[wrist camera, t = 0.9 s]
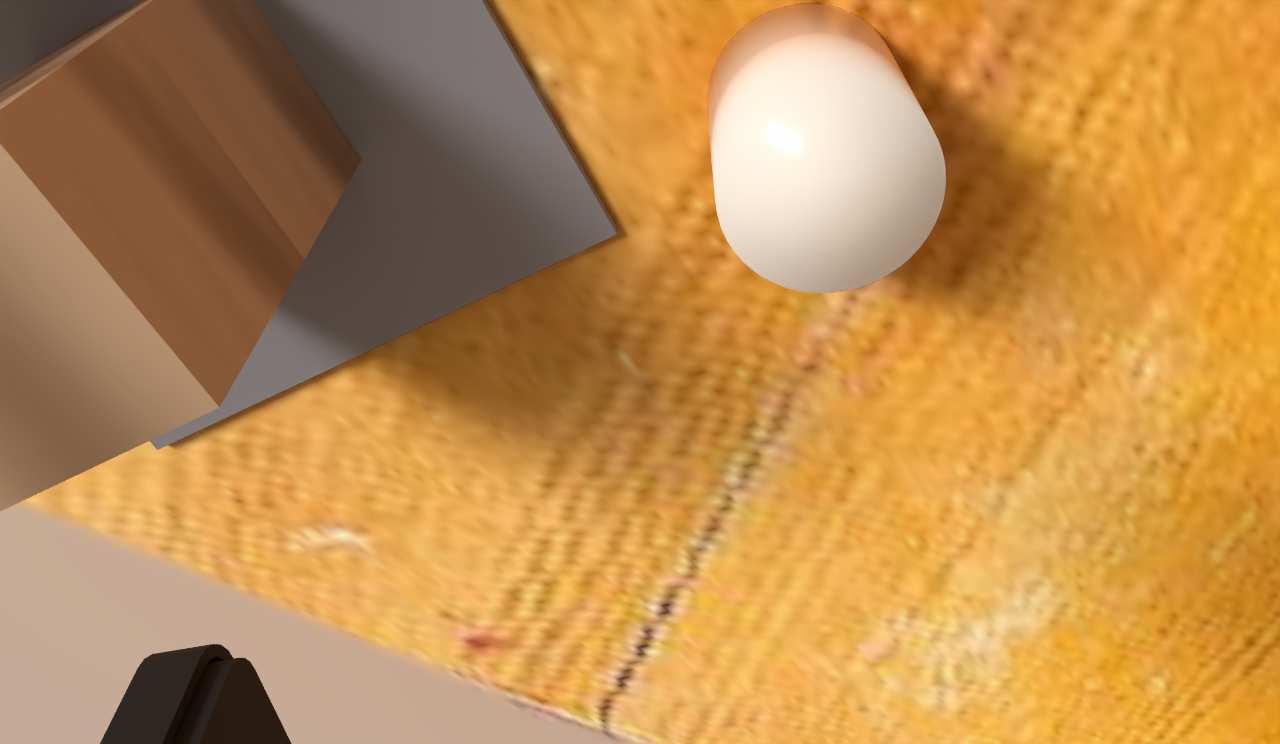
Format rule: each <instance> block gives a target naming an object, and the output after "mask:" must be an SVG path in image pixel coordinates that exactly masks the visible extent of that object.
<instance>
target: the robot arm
mask: <svg viewBox="0 0 1280 744" xmlns="http://www.w3.org/2000/svg"><path fill="white" fill-rule="evenodd" d="M100 744H291V742H290V740H289V738H288V736H287V734H286V732H285V730H284V728H283V726H282V724H281V721H280V719H279V717H278V715H277V714H276V711H275V709H274V707H273V705H272V703H271V701H270V699H269V697H268V695H267V693H266V691H265V689H264V687H263V685H262V683H261V681H260V679H259V677H258V674H257V672H256V670H255V669H254V667H253V666H252V664H251V662H250V661H248V660H247V659H245V658H235V659H234V658H233V657H232V655H231V654H230V652H229V651H228V650H227V649H226V648H224V647H223V646H222V645H218V644H212V645H205V646H199V647H193V648H187V649H181V650H175V651H169V652H163V653H156V654H152V655H150V656H149V657H147V658H145V659H144V661H143V662H142V663H141V664H140V666H139V667H138V669H137V671H136V673H135V675H134V677H133V679H132V681H131V683H130V685H129V687H128V689H127V691H126V693H125V695H124V697H123V699H122V701H121V703H120V705H119V707H118V709H117V711H116V713H115V715H114V717H113V719H112V721H111V723H110V725H109V727H108V729H107V731H106V733H105V735H104V737H103V739H102V741H101V743H100Z"/></svg>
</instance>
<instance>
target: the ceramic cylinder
mask: <svg viewBox="0 0 1280 744" xmlns="http://www.w3.org/2000/svg"><path fill="white" fill-rule="evenodd" d="M707 115H708V126H709V137H710V148H711V159H712V169H713V180H714V191H715V202H716V209H717V215H718V219H719V222H720V226H721V228H722V231H723V233H724V235H725V238H726V240H727V241H728V243H729V244H730V246H731V248H732V249H733V251H734V252H735V253H736V254H737V255H738V257H739V258H740V259H741V260H742V261H743V262H744V263H745V264H746V265H747V266H748V267H749V268H751V269H752V270H753V271H754V272H756V273H757V274H759V275H760V276H762V277H763V278H765V279H767V280H769V281H771V282H773V283H775V284H777V285H780V286H783V287H786V288H789V289H793V290H797V291H802V292H811V293H834V292H842V291H847V290H851V289H856V288H859V287H862V286H865V285H868V284H870V283H873V282H875V281H877V280H879V279H881V278H883V277H885V276H887V275H888V274H890V273H891V272H893V271H894V270H896V269H897V268H899V267H900V266H901V265H902V264H904V263H905V262H906V261H907V260H909V259H910V258H911V257H912V256H913V254H914V253H915V252H916V251H917V250H918V249H919V248H920V247H921V246H922V244H923V243H924V241H925V240H926V239H927V237H928V236H929V234H930V233H931V231H932V229H933V227H934V225H935V224H936V221H937V219H938V216H939V214H940V211H941V208H942V204H943V200H944V196H945V188H946V167H945V161H944V155H943V152H942V149H941V146H940V143H939V141H938V139H937V137H936V135H935V133H934V131H933V129H932V127H931V125H930V123H929V121H928V119H927V118H926V116H925V114H924V112H923V110H922V108H921V106H920V105H919V103H918V101H917V99H916V97H915V95H914V94H913V92H912V90H911V88H910V86H909V84H908V83H907V81H906V79H905V77H904V75H903V73H902V71H901V70H900V68H899V66H898V64H897V62H896V60H895V59H894V57H893V55H892V53H891V51H890V49H889V48H888V46H887V44H886V43H885V42H884V40H883V39H882V37H881V36H880V35H879V34H878V33H877V32H876V30H875V29H874V28H873V27H872V26H870V25H869V24H868V23H867V22H865V21H864V20H863V19H861V18H860V17H858V16H856V15H854V14H853V13H851V12H848V11H846V10H844V9H841V8H838V7H834V6H830V5H825V4H816V3H801V4H794V5H788V6H784V7H781V8H777V9H774V10H772V11H770V12H767V13H765V14H763V15H761V16H759V17H758V18H756V19H754V20H753V21H751V22H750V23H748V24H747V25H746V26H744V27H743V28H742V29H741V30H740V31H739V32H738V33H737V34H736V35H735V36H734V37H733V38H732V39H731V40H730V41H729V43H728V44H727V45H726V46H725V48H724V49H723V51H722V52H721V54H720V56H719V57H718V59H717V61H716V64H715V66H714V68H713V71H712V74H711V77H710V81H709V85H708V92H707Z"/></svg>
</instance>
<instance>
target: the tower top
mask: <svg viewBox="0 0 1280 744" xmlns="http://www.w3.org/2000/svg"><path fill="white" fill-rule="evenodd" d="M303 261H304V258H303V257H302V256H301V254H300V253H299V252H298V250H297V249H296V248H295V246H294V245H293V243H292V242H291V241H290V239H289V238H288V237H287V235H286V234H285V233H284V231H283V230H282V228H281V227H280V226H279V224H278V223H277V222H276V220H275V219H274V218H273V216H272V215H271V213H270V212H269V211H268V209H267V208H266V207H265V205H264V204H263V203H262V201H261V200H260V198H259V197H258V196H257V194H256V193H255V192H254V190H253V189H252V188H251V186H250V185H249V183H248V182H247V181H246V179H245V178H244V177H243V175H242V174H241V173H240V171H239V170H238V168H237V167H236V166H235V164H234V163H233V162H232V160H231V159H230V158H229V156H228V155H227V153H226V152H225V151H224V149H223V148H222V147H221V145H220V144H219V143H218V141H217V140H216V138H215V137H214V136H213V134H212V133H211V132H210V130H209V129H208V128H207V126H206V125H205V123H204V122H203V121H202V119H201V118H200V117H199V115H198V114H197V113H196V111H195V110H194V108H193V107H192V106H191V104H190V103H189V102H188V100H187V99H186V98H185V96H184V95H183V93H182V92H181V91H180V89H179V88H178V87H177V85H176V84H175V83H174V81H173V80H172V78H171V77H170V76H169V74H168V73H167V72H166V70H165V69H164V68H163V66H162V65H161V63H160V62H159V61H158V59H157V58H156V57H155V55H154V54H153V53H152V51H151V50H150V48H149V47H148V46H147V44H146V43H145V42H144V40H143V39H142V38H141V36H140V35H139V33H138V32H137V31H136V29H135V28H134V27H133V25H132V24H131V23H130V21H129V20H128V18H127V19H126V20H124V21H122V22H121V23H119V24H117V25H116V26H114V27H112V28H110V29H109V30H107V31H105V32H104V33H102V34H100V35H99V36H97V37H95V38H94V39H92V40H90V41H88V42H87V43H85V44H83V45H82V46H80V47H78V48H77V49H75V50H73V51H72V52H70V53H68V54H66V55H65V56H63V57H61V58H60V59H58V60H56V61H55V62H53V63H51V64H49V65H48V66H46V67H44V68H43V69H41V70H39V71H38V72H36V73H34V74H33V75H31V76H29V77H27V78H26V79H24V80H22V81H21V82H19V83H17V84H16V85H14V86H12V87H10V88H9V89H7V90H5V91H4V92H2V93H0V511H2V510H4V509H6V508H8V507H10V506H12V505H14V504H17V503H19V502H21V501H23V500H25V499H27V498H29V497H31V496H33V495H36V494H38V493H40V492H42V491H44V490H46V489H48V488H50V487H53V486H55V485H57V484H59V483H61V482H63V481H65V480H67V479H69V478H72V477H74V476H76V475H78V474H80V473H82V472H84V471H86V470H88V469H91V468H93V467H95V466H97V465H99V464H101V463H103V462H105V461H108V460H110V459H112V458H114V457H116V456H118V455H120V454H122V453H124V452H127V451H129V450H131V449H133V448H135V447H137V446H139V445H141V444H143V443H146V442H148V441H150V440H152V439H154V438H156V437H158V436H160V435H163V434H165V433H167V432H169V431H171V430H173V429H175V428H177V427H179V426H182V425H184V424H186V423H188V422H190V421H192V420H194V419H196V418H198V417H201V416H203V415H205V414H207V413H209V412H211V411H213V410H215V409H218V408H220V406H221V404H222V403H223V401H224V399H225V397H226V396H227V394H228V392H229V390H230V389H231V387H232V385H233V383H234V382H235V380H236V378H237V376H238V375H239V373H240V371H241V369H242V368H243V366H244V364H245V362H246V361H247V359H248V357H249V355H250V354H251V352H252V350H253V348H254V347H255V345H256V343H257V341H258V340H259V338H260V336H261V334H262V333H263V331H264V329H265V327H266V326H267V324H268V322H269V321H270V319H271V317H272V315H273V314H274V312H275V310H276V308H277V307H278V305H279V303H280V301H281V300H282V298H283V296H284V294H285V293H286V291H287V289H288V287H289V286H290V284H291V282H292V280H293V279H294V277H295V275H296V273H297V272H298V270H299V268H300V266H301V265H302V263H303Z"/></svg>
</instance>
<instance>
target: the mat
mask: <svg viewBox="0 0 1280 744" xmlns="http://www.w3.org/2000/svg"><path fill="white" fill-rule="evenodd" d="M136 1H138V0H0V85H1V84H3V83H4V82H5V81H7V80H8V79H10V78H11V77H13V76H14V75H16V74H17V73H19V72H20V71H22V70H23V69H25V68H26V67H28V66H29V65H30V64H32V63H33V62H35V61H37V60H38V59H40V58H42V57H43V56H45V55H47V54H49V53H50V52H52V51H54V50H55V49H57V48H59V47H60V46H62V45H64V44H65V43H67V42H69V41H70V40H72V39H74V38H76V37H77V36H79V35H81V34H82V33H84V32H86V31H87V30H89V29H91V28H92V27H94V26H96V25H97V24H99V23H101V22H103V21H104V20H106V19H108V18H109V17H111V16H113V15H114V14H116V13H118V12H119V11H121V10H123V9H124V8H126V7H128V6H129V5H131V4H133V3H135V2H136ZM255 1H256V3H257V4H258V6H259V7H260V9H261V10H262V12H263V13H264V15H265V16H266V18H267V19H268V21H269V22H270V24H271V25H272V27H273V28H274V29H275V31H276V32H277V34H278V35H279V37H280V38H281V40H282V41H283V43H284V44H285V46H286V47H287V49H288V50H289V52H290V53H291V55H292V56H293V58H294V59H295V61H296V62H297V64H298V65H299V67H300V68H301V70H302V71H303V73H304V74H305V76H306V77H307V78H308V80H309V81H310V83H311V84H312V86H313V87H314V89H315V90H316V92H317V93H318V95H319V96H320V98H321V99H322V101H323V102H324V104H325V105H326V107H327V108H328V110H329V111H330V113H331V114H332V116H333V117H334V119H335V120H336V122H337V123H338V124H339V126H340V127H341V129H342V130H343V132H344V133H345V135H346V136H347V138H348V139H349V141H350V142H351V144H352V145H353V147H354V148H355V150H356V151H357V153H358V154H359V156H360V157H361V159H362V160H361V162H360V163H359V165H358V167H357V169H356V170H355V172H354V174H353V176H352V177H351V179H350V181H349V183H348V184H347V186H346V188H345V190H344V191H343V193H342V195H341V197H340V198H339V200H338V202H337V204H336V205H335V207H334V209H333V211H332V212H331V214H330V216H329V218H328V219H327V221H326V223H325V225H324V226H323V228H322V230H321V232H320V233H319V235H318V237H317V238H316V240H315V242H314V244H313V245H312V247H311V249H310V251H309V252H308V254H307V256H306V258H305V259H304V261H303V263H302V265H301V266H300V268H299V270H298V272H297V273H296V275H295V277H294V279H293V280H292V282H291V284H290V286H289V287H288V289H287V291H286V293H285V294H284V296H283V298H282V300H281V301H280V303H279V305H278V307H277V308H276V310H275V312H274V314H273V315H272V317H271V319H270V321H269V322H268V324H267V326H266V327H265V329H264V331H263V333H262V334H261V336H260V338H259V340H258V341H257V343H256V345H255V347H254V348H253V350H252V352H251V354H250V355H249V357H248V359H247V361H246V362H245V364H244V366H243V368H242V369H241V371H240V373H239V375H238V376H237V378H236V380H235V382H234V383H233V385H232V387H231V389H230V390H229V392H228V394H227V396H226V397H225V399H224V401H223V403H222V404H221V406H220V408H218V409H215V410H213V411H211V412H209V413H207V414H205V415H203V416H201V417H198V418H196V419H194V420H192V421H190V422H188V423H186V424H184V425H182V426H179V427H177V428H175V429H173V430H171V431H169V432H167V433H165V434H163V435H160V436H158V437H156V438H154V439H152V440H150V442H151V443H152V444H153V445H154V446H155V448H156V449H157V450H159V449H161V448H163V447H165V446H167V445H169V444H171V443H173V442H176V441H178V440H180V439H182V438H184V437H186V436H188V435H190V434H193V433H195V432H197V431H199V430H201V429H203V428H205V427H208V426H210V425H212V424H214V423H216V422H218V421H220V420H222V419H225V418H227V417H229V416H231V415H233V414H235V413H237V412H239V411H242V410H244V409H246V408H248V407H250V406H252V405H254V404H257V403H259V402H261V401H263V400H265V399H267V398H269V397H271V396H274V395H276V394H278V393H280V392H282V391H284V390H286V389H289V388H291V387H293V386H295V385H297V384H299V383H301V382H303V381H306V380H308V379H310V378H312V377H314V376H316V375H318V374H320V373H323V372H325V371H327V370H329V369H331V368H333V367H335V366H338V365H340V364H342V363H344V362H346V361H348V360H350V359H352V358H355V357H357V356H359V355H361V354H363V353H365V352H367V351H369V350H372V349H374V348H376V347H378V346H380V345H382V344H384V343H387V342H389V341H391V340H393V339H395V338H397V337H399V336H401V335H404V334H406V333H408V332H410V331H412V330H414V329H416V328H419V327H421V326H423V325H425V324H427V323H429V322H431V321H433V320H436V319H438V318H440V317H442V316H444V315H446V314H448V313H450V312H453V311H455V310H457V309H459V308H461V307H463V306H465V305H468V304H470V303H472V302H474V301H476V300H478V299H480V298H482V297H485V296H487V295H489V294H491V293H493V292H495V291H497V290H499V289H502V288H504V287H506V286H508V285H510V284H512V283H514V282H517V281H519V280H521V279H523V278H525V277H527V276H529V275H531V274H534V273H536V272H538V271H540V270H542V269H544V268H546V267H549V266H551V265H553V264H555V263H557V262H559V261H561V260H563V259H566V258H568V257H570V256H572V255H574V254H576V253H578V252H580V251H583V250H585V249H587V248H589V247H591V246H593V245H595V244H598V243H600V242H602V241H604V240H606V239H608V238H610V237H612V236H615V235H617V227H616V225H615V223H614V221H613V220H612V218H611V216H610V215H609V213H608V211H607V209H606V208H605V206H604V204H603V202H602V201H601V199H600V197H599V195H598V194H597V192H596V190H595V188H594V187H593V185H592V183H591V182H590V180H589V178H588V176H587V175H586V173H585V171H584V169H583V168H582V166H581V164H580V162H579V161H578V159H577V157H576V156H575V154H574V152H573V150H572V149H571V147H570V145H569V143H568V142H567V140H566V138H565V136H564V135H563V133H562V131H561V129H560V128H559V126H558V124H557V123H556V121H555V119H554V117H553V116H552V114H551V112H550V110H549V109H548V107H547V105H546V103H545V102H544V100H543V98H542V96H541V95H540V93H539V91H538V90H537V88H536V86H535V84H534V83H533V81H532V79H531V77H530V76H529V74H528V72H527V70H526V69H525V67H524V65H523V64H522V62H521V60H520V58H519V57H518V55H517V53H516V51H515V50H514V48H513V46H512V44H511V43H510V41H509V39H508V37H507V36H506V34H505V32H504V31H503V29H502V27H501V25H500V24H499V22H498V20H497V18H496V17H495V15H494V13H493V11H492V10H491V8H490V6H489V4H488V3H487V1H486V0H255Z"/></svg>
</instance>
